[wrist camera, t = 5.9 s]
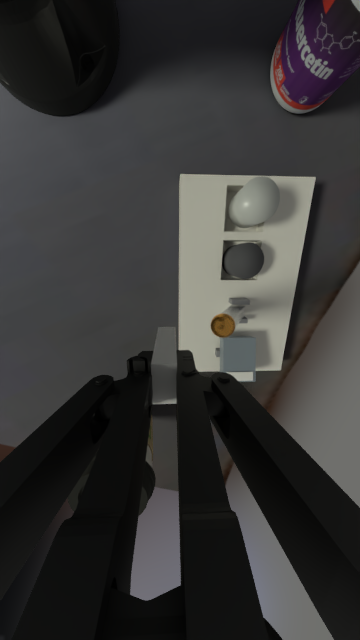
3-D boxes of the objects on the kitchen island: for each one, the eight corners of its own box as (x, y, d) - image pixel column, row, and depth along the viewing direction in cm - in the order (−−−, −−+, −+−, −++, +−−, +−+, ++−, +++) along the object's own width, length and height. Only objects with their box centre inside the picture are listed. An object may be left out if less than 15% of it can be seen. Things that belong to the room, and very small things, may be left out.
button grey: (230, 189, 23) (241, 175, 19) (264, 189, 23) (283, 176, 20) (227, 228, 25) (237, 222, 21) (260, 228, 25) (276, 223, 21)
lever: (229, 299, 27) (207, 315, 20) (248, 301, 26) (233, 318, 19) (227, 317, 28) (206, 338, 21) (246, 320, 27) (231, 343, 20)
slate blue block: (219, 336, 28) (223, 338, 26) (250, 335, 28) (256, 337, 26) (219, 377, 29) (223, 382, 26) (249, 376, 29) (255, 382, 27)
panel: (179, 183, 26) (180, 168, 21) (300, 185, 26) (325, 171, 22) (178, 362, 33) (179, 377, 29) (271, 360, 34) (286, 376, 30)
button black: (222, 244, 27) (231, 242, 23) (253, 244, 27) (266, 242, 23) (220, 275, 28) (228, 278, 24) (249, 276, 28) (261, 278, 24)
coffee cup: (146, 370, 34) (127, 453, 19) (170, 412, 36) (168, 512, 22) (95, 391, 34) (41, 485, 20) (122, 430, 37) (92, 538, 23)
